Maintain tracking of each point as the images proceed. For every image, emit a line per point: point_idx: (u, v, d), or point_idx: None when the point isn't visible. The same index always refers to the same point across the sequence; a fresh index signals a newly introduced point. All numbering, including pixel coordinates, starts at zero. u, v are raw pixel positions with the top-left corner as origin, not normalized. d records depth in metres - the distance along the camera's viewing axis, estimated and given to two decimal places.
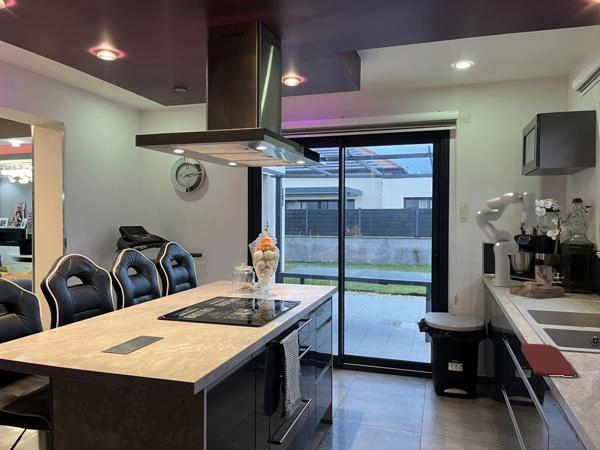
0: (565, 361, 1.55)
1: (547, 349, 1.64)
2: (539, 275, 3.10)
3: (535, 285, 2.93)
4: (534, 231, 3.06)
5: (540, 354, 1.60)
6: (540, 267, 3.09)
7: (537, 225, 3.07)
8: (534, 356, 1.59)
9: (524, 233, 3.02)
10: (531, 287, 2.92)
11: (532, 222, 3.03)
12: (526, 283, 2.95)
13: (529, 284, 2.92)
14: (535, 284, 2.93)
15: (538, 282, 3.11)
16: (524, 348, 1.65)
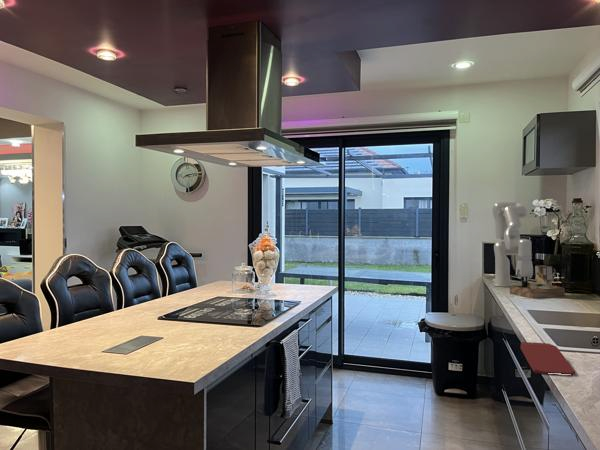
0: (564, 359, 1.56)
1: (546, 348, 1.65)
2: (539, 275, 3.10)
3: (535, 285, 2.93)
4: None
5: (539, 352, 1.62)
6: (540, 267, 3.09)
7: (529, 276, 2.94)
8: (533, 354, 1.61)
9: (525, 284, 2.92)
10: (531, 287, 2.92)
11: (528, 271, 2.91)
12: None
13: (529, 284, 2.92)
14: (535, 284, 2.93)
15: (538, 282, 3.11)
16: (523, 347, 1.67)
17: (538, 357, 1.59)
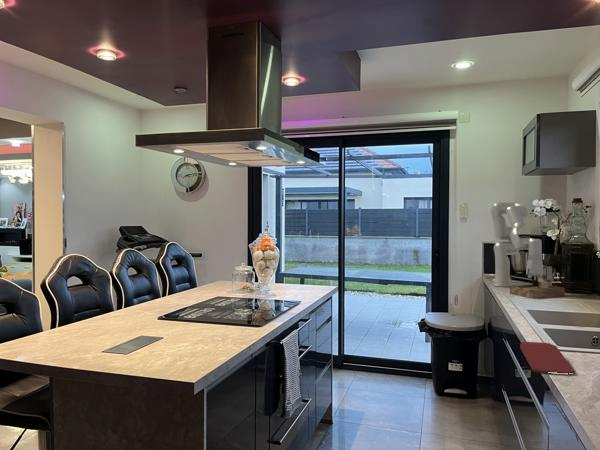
0: (563, 359, 1.57)
1: (546, 347, 1.66)
2: None
3: (546, 284, 2.95)
4: None
5: (539, 352, 1.62)
6: None
7: None
8: (533, 354, 1.61)
9: (535, 283, 2.94)
10: (542, 286, 2.94)
11: (538, 270, 2.93)
12: None
13: (540, 283, 2.94)
14: (546, 283, 2.95)
15: None
16: (523, 346, 1.67)
17: (538, 357, 1.59)
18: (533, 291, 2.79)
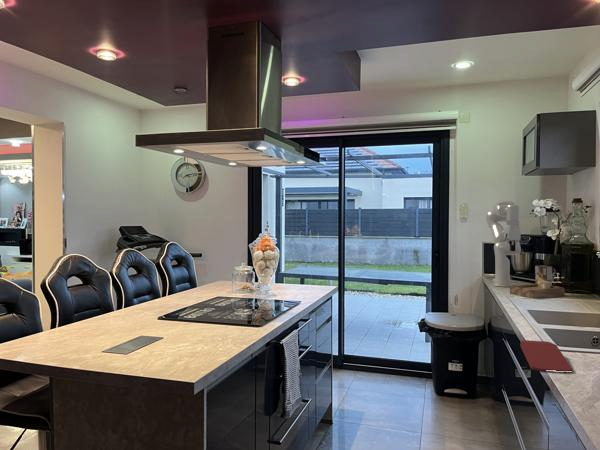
0: (562, 357, 1.58)
1: (546, 346, 1.68)
2: (539, 275, 3.10)
3: (549, 284, 2.95)
4: None
5: (538, 350, 1.64)
6: (540, 267, 3.09)
7: None
8: (532, 352, 1.63)
9: (513, 248, 3.02)
10: (545, 286, 2.94)
11: (515, 235, 3.01)
12: (540, 282, 2.97)
13: (543, 283, 2.95)
14: (549, 283, 2.95)
15: None
16: (523, 345, 1.69)
17: (537, 355, 1.61)
18: (533, 291, 2.79)
